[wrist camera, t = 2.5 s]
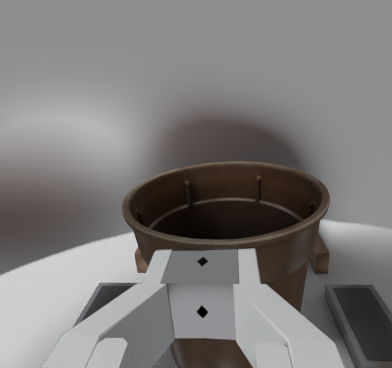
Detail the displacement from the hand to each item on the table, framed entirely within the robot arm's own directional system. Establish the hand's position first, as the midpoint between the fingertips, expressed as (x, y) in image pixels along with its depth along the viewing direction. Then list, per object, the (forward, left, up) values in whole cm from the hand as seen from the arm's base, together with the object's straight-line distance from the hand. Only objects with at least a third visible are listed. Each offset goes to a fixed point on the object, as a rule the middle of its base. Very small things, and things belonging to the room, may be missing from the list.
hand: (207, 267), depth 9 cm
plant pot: (0, +15, -20) cm, 25 cm away
